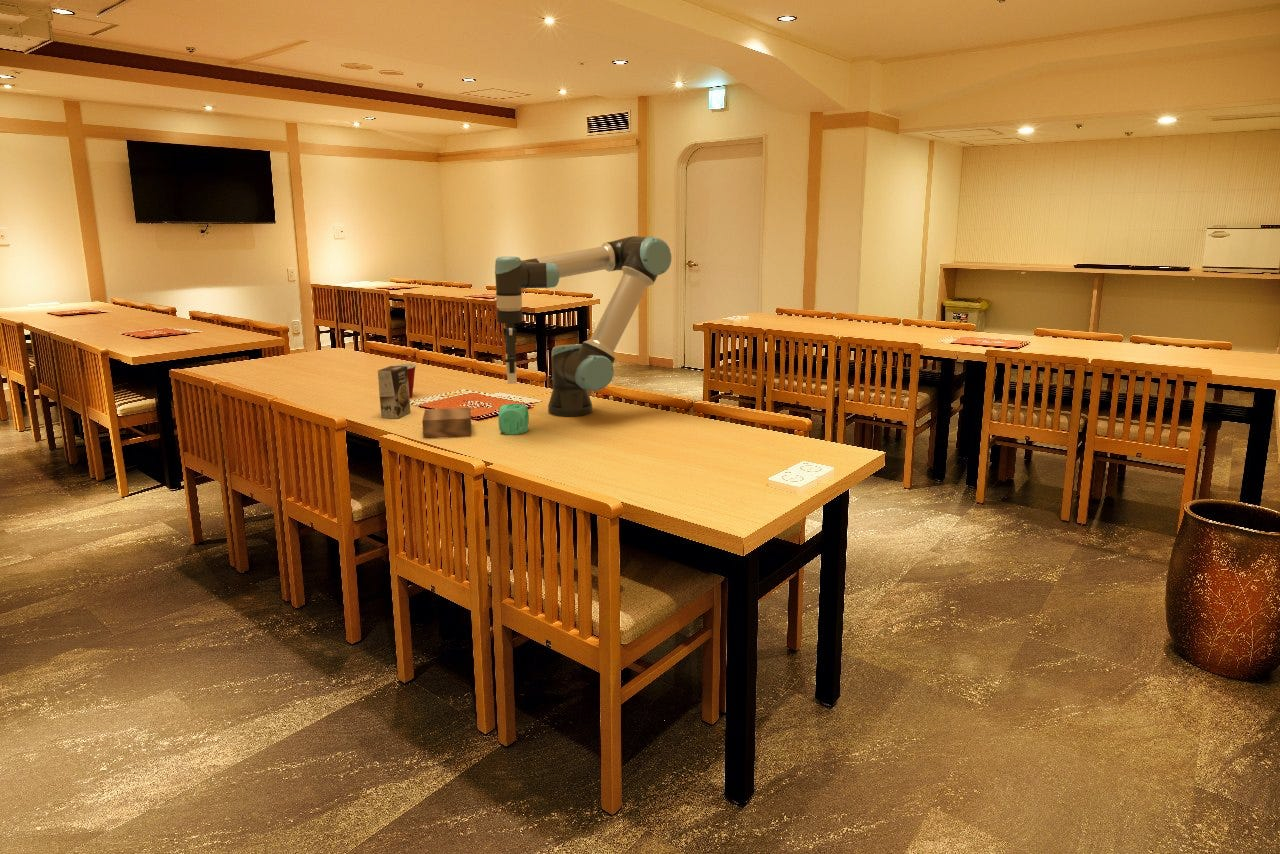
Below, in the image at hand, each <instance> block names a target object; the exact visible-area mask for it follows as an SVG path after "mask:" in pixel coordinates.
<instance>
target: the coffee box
mask: <svg viewBox="0 0 1280 854" xmlns="http://www.w3.org/2000/svg"><path fill="white" fill-rule="evenodd" d="M377 378H378V392H379V405H380V417H381V418H383V419H384V418H385V419H400V418H403V417H404V416H406V415H408V414H411V412H412V411H411V400H410V399H411V398H410V397H409V384H408V370H407V366H392V365H389V366H386V367H384V368H382V369H378V370H377Z"/></svg>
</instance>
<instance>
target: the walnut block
mask: <svg viewBox="0 0 1280 854" xmlns="http://www.w3.org/2000/svg"><path fill="white" fill-rule="evenodd" d="M471 410H472V409H471V407H456V408H455V407H454V408H450V407H449V408H432V409H431V408H430V409H427V408H426V409H424V413H423V416H422V420H421V423H422V436H423V439H424V438H428V439H438V438H437V437H448V438H464V437H472V413H471Z"/></svg>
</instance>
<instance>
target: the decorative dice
mask: <svg viewBox="0 0 1280 854" xmlns="http://www.w3.org/2000/svg"><path fill="white" fill-rule="evenodd" d="M529 414H530V413H529V408H528V407H527V405H525V404H523V403H507V404H503V405H501V406H500V407H499V411H498V429H499V431H500V432H501V433H502V434H504V435H508V436H509V435H510V436H511V435H513V436H514V435H516V434H517V435H523V434H525V433H527V432H528V430H529V417H530V415H529ZM522 433H523V434H522Z"/></svg>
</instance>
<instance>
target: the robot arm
mask: <svg viewBox="0 0 1280 854" xmlns="http://www.w3.org/2000/svg"><path fill="white" fill-rule="evenodd" d="M671 262H672V253H671V248H670V246H669V245H668V243H667V242H666V241H665V240H663V239H661V238H660V237H656V236H655V237H654V236H636V235H634V236H632V235H631V236H628V237H627V236H626V237H624V238H619V239H615V240H612V241H606V242H603V243H602V244H601V245H600V246H597V247H591V248H587V249H586V248H585V249H580V250H575V251H570V252H562V253H557V254H552V255H546V256H540V257H536V258H529V259H525V260H522V259H521V258H520V256H498V257H496V259H495V264H494V265H495V266H494V274H495V276H494V277H495V278H494V279H495V290H496V291H495V294H496V295H495V296H496V298H494V299H493V300H494V302H496V308H497V309H498V310H497V311H496V323H499V324H503V325H504V326H505V327H504V328H502V329H503V330H502V332H503V333H502V334H503V338H504V343H505V347H504V349H505V359H504V362H505V371H506V373H505V375H506V377H507V379H506V381H507V384H509V385H512V384H514V385H515V384H517V383H518V382H517V381H518V380H517V378H518V377H517V376H518V375H517V374H518V373H517V359H518V358H517V349H516V343H517V335H518V331H517V328H516V327H515V324H521V323H522V322H523V311H522V310H521V309H522V308H523V295H522V289H524V290H525V289H526V290H527V289H548V288H549V289H551V288H555V287H556V286H558V284H559V282H560V278H566V277H572V276H576V275H577V276H578V275H582V274H587V273H588V274H589V273H592V272H593V273H594V272H599V271H604V270H605V271H607V272H614V271H622V274H623V275H622V277H621V279H620V280H619V283H617V287H616V288H615V290H614V292H613V294H612V296H611V297H610V300H609V301H608V304H607V305H606V308H605V310H604V311H603V314H602V315H601V317H600V319H599V321H598V323H597V324H596V328H595V329H594V331H593V333H592V335H591V337H590V338H589V339H588V340H585V341H583V342H582V343H575V344H573V343H572V344H561V345H555V346H554V347H552V350H551V368H552V369H551V372H552V373H551V375H552V392H551V394H550V395H551V396H550V398H549V401H548V405H547V411H548V414H550V415H552V416H557V417H580V416H586V415H589V414H591V413H593V403H592V402H593V401H592V399H591V397H590V393H589V391H590V392H591V391H592V392H597V391H601V390H604V389H605V388H606V387H608V386H609V385H610V383H611V382H612V380H613V378H614V373H615V370H614V364H613V363H614V362H615V360H616V356H615V351H616V348H617V346H618V344H619V342H620V340H621V338H622V336H623V334H624V333H625V330H626V329H627V327H628V324H629V323H630V320H631V318H632V316H633V314H634V313H635V311H636V308H637V307H638V305H639V304H640V301H641V300H642V297H643V295H644V293H645V291H646V289H647V287H651V286H653V285H654V283H655V282H656V280H657V278H658V276H659V275H662V274H665V273H666V272H667V271H668V270H669V268H670V266H671V265H672V264H671Z"/></svg>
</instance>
